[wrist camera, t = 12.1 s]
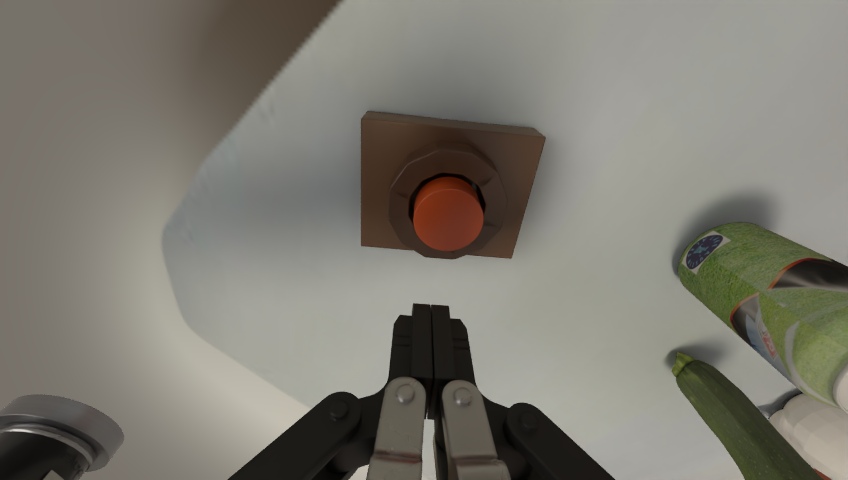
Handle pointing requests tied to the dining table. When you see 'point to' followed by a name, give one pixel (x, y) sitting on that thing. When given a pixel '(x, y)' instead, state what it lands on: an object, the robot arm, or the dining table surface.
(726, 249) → the beverage can
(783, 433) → the cat figurine
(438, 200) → the button
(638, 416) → the dining table surface
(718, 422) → the vegetable
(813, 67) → the dining table surface
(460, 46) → the dining table surface
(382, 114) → the button block
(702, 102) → the dining table surface
